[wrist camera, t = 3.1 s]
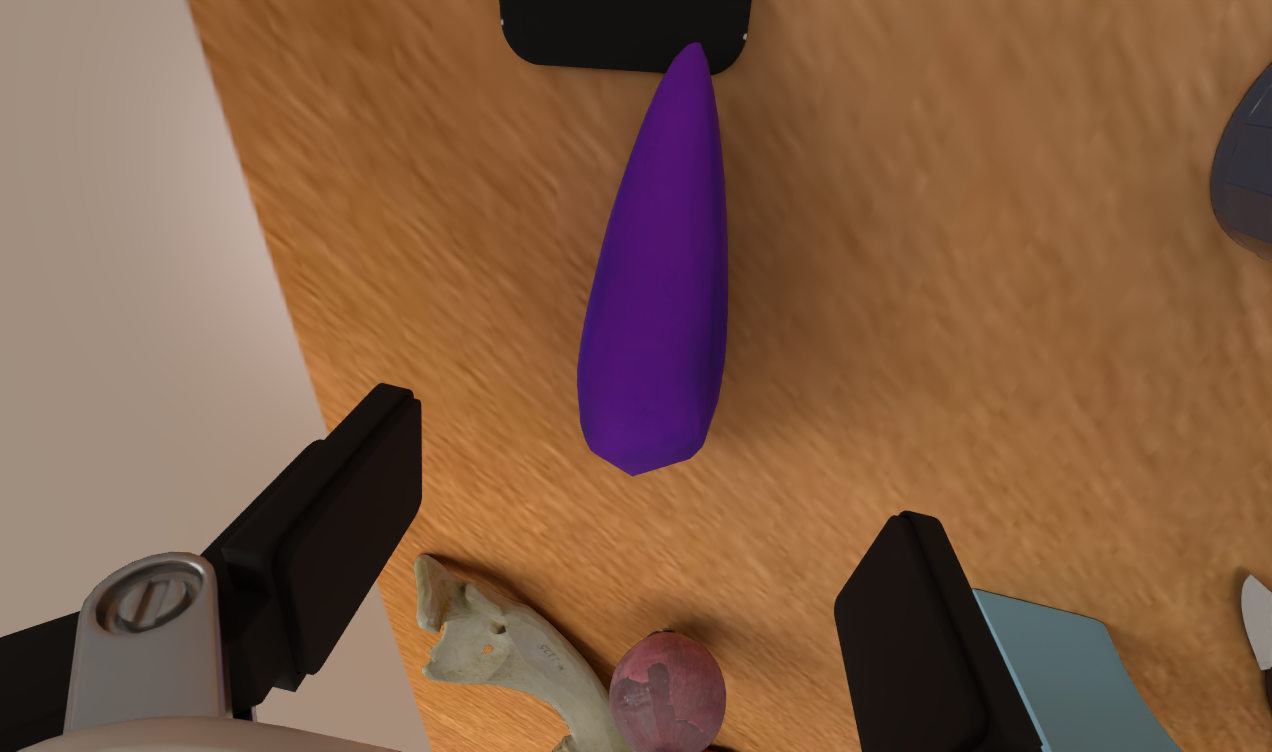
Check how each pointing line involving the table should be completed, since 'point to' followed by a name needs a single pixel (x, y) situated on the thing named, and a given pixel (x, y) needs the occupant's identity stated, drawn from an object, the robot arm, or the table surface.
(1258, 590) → the kitchen knife
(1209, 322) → the table surface
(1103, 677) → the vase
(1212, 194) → the mug
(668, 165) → the purple eggplant
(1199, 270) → the table surface
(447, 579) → the jawbone
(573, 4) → the smartphone
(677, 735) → the vegetable
